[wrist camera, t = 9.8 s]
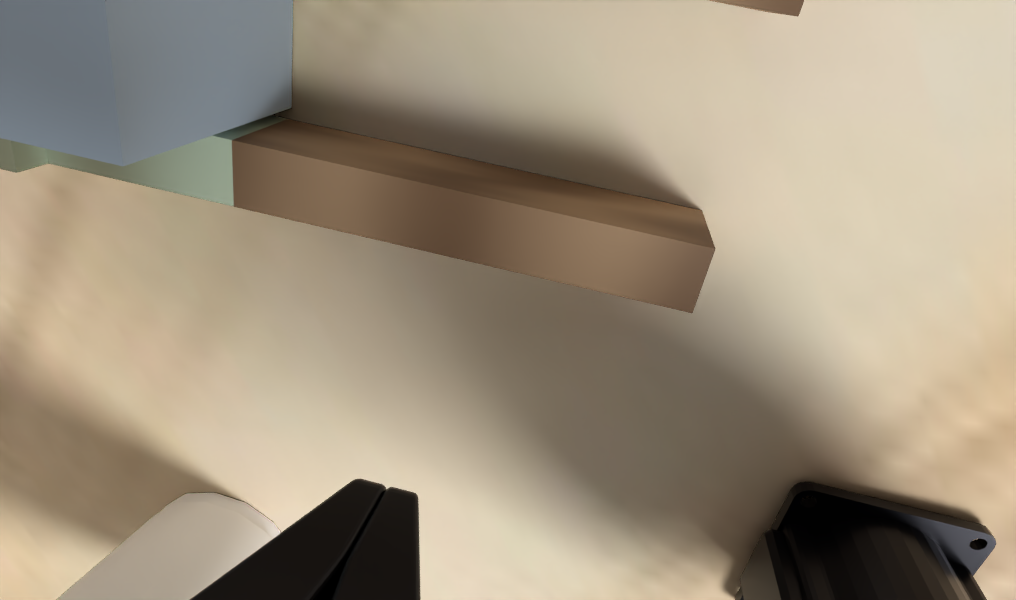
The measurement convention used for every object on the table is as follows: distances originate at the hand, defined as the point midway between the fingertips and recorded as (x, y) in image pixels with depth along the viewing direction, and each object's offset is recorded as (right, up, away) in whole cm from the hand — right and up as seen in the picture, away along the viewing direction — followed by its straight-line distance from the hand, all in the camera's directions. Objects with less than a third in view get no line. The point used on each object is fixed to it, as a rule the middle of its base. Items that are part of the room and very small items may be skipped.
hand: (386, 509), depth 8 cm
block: (-7, +11, +9) cm, 16 cm away
